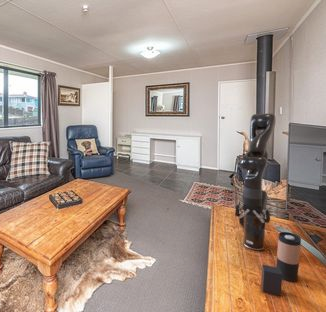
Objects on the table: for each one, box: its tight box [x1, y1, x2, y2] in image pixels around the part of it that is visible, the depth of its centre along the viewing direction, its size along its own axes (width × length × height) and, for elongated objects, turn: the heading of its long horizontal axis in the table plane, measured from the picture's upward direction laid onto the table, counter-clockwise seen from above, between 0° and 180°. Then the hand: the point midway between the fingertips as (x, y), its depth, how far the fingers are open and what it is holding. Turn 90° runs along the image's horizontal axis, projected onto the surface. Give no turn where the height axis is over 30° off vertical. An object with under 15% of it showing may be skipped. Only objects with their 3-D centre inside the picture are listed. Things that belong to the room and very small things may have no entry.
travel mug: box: [276, 231, 302, 283], centre depth 103 cm, size 8×8×20 cm
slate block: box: [260, 264, 283, 297], centre depth 97 cm, size 4×6×10 cm
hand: (251, 226), depth 116 cm, fingers open, 8 cm apart
